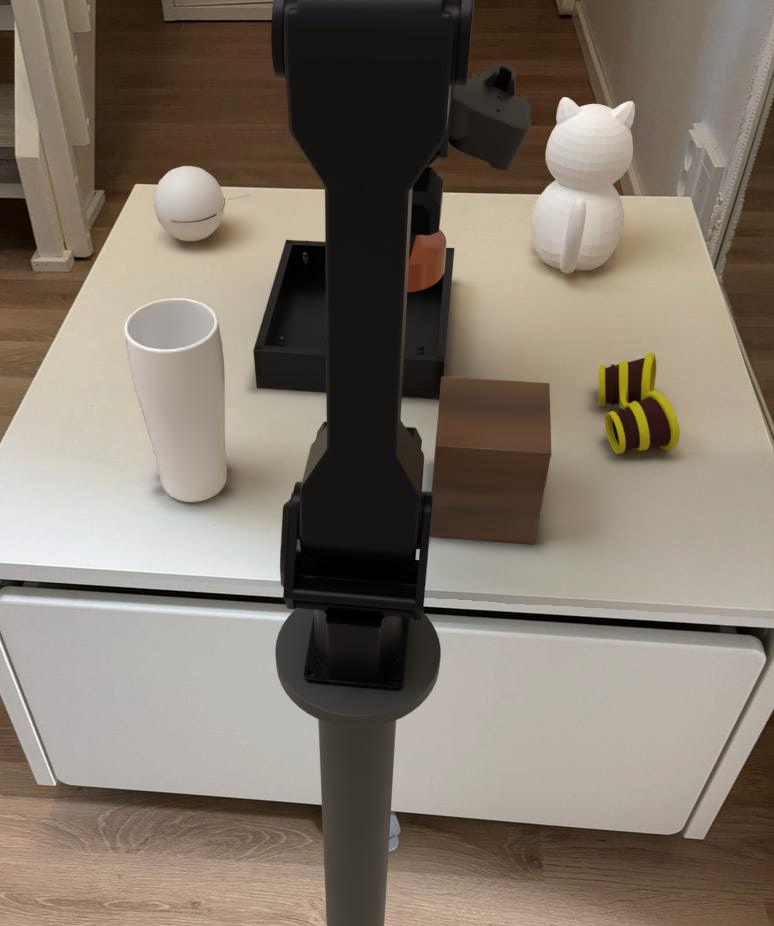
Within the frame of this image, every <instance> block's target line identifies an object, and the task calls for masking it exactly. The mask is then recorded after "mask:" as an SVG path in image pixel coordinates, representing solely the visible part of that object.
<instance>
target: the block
mask: <svg viewBox="0 0 774 926" xmlns="http://www.w3.org/2000/svg"><path fill="white" fill-rule="evenodd" d="M550 385H551V384H550V382H541V381H540V382H539V381H538V382H537V381H523V380H522V381H521V380H506V379H492V378H491V379H490V378H476V377H475V378H474V377H459V376H444V377H441V385H440V396H439V399H438V408H437V419H436V420H437V422H436V432H435V442H434V443H435V445H434V456H433V469H432V481H431V482H432V483H431V492H433V502H432V514H431V526H430V537H436V538H447V539H463V540H476V541H489V542H499V543H513V544H514V543H516V544H525V545H526V544H529V545H535V542H536V537H537V533H538V527H539V522H540V516H541V510H542V507H543V506H542V505H543V500H544V495H545V490H546V484H547V480H548V474H549V469H550V463H551V458H552V453H553V451H552V450H553V449H552V419H551V386H550Z"/></svg>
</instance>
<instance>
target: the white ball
mask: <svg viewBox="0 0 774 926" xmlns="http://www.w3.org/2000/svg"><path fill="white" fill-rule="evenodd" d="M250 196H251V194H246V195H242V196H237V197H232V198H228V199H227V201H230V200H236V199H240V198H245V197H250ZM225 206H226V198H225V197H224V194H223V190H222V188H221V185H220V184H219V182H218V181H217V180H216V178H215V177H214V176H213V175H212V174H211V173H209V172H208V171H206V170H205V169H203V168H201V167H198V166H192V165H182V166H179V167H175V168H172V169H171V170H169V171H167V173H165V174H164V175H163V176H162V178H161V179H159V181H158V184H157V186H156V189H155V192H154V194H153V208H154V212H155V215H156V218H157V222H158V223H159V225H161V227H162V229H164V230H165V232H166V233H167V234H169V235H170V236H172V237H174V238H175V239H177V240H180V241H184V242H197V241H201V240H205V239H206V238H208V237H209V236H211V235H213V233H214V232H215V231H216V230H217V229H218V228H219V226H220V225H221V222H222V221H223V218H224V214H225Z"/></svg>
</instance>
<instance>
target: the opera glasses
mask: <svg viewBox="0 0 774 926" xmlns="http://www.w3.org/2000/svg"><path fill="white" fill-rule="evenodd" d="M657 369H658V368H657V357H656V354H655V353H654V352H647V353H646V354H645V356H644V357H643V358H638V359H635V360H634V359H633V360H631V361H629V359H625V360H622V361H619V362H618V364H614V363H612V364H611V365H610V366H606V365H605V364H599V365H598V406H599V407H606V405H607V404H608V405H609V404H610V405H611V407H614V406H618V407H619V409H618V411H617V412H616V411H615V410H611V411H608V412H605V417H604V426H605V432H606V436H607V439H608V442H609V443H608V444H609V445H610V448H611V449H612V451H613V452H614V453H615V454H616V455H619V454H623V453H625V450H627V451H628V452H631V451H633V450H635V451H639V452H640V451H647V450H649V448H660V449H662V450H664V451H671V450H673V449H675V448H676V447H677V446H678V444H679V442H680V438H681V429H680V425H679V421H678V417H677V415H676V412H675V411H674V408H673V407H672V405H671V403H670V401H669V400H668V399H667V398H666V397H665V396H664V395H663V394H662V393H661V392H659V391H657V390H655V386H656V379H657Z"/></svg>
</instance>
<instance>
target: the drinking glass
mask: <svg viewBox="0 0 774 926" xmlns="http://www.w3.org/2000/svg"><path fill="white" fill-rule="evenodd" d="M123 333H124V334H123V335H124V341H125V342H124V343H125V349H126V356H127V361H128V367H129V372H130V375H131V380H132V384H133V387H134V392H135V394H136V398H137V401H138V405H139V408H140V411H141V414H142V418H143V421H144V423H145V427H146V431H147V435H148V438H149V442H150V445H151V448H152V451H153V455H154V459H155V462H156V465H157V469H158V475H159V480H160V484H161V486H162V489H163V490H164V491H165V493H166V494H167V495H168V496H169V497H171V498H173V499H175V500H177V501H181V502H185V503H197V502H198V503H199V502H202V501H207V500H209V499H211V498H213V497H215V496H217V495H218V494H219V493H220V492H221V491H222V490H223V489H224V487H225V486H226V483H227V479H228V467H227V458H226V457H227V456H226V455H227V454H226V374H225V357H224V348H223V341H222V336H221V335H222V334H221V329H220V321H219V318H218V315H217V314H216V312H215V311H214V309H212V308H211V307H210V306H209V305H207V304H205V303H203V302H201V301H198V300H196V299H191V298H182V297H171V298H162V299H158V300H155V301H151V302H149V303H146V304H143V305H142V306H140V307H138V308H137V309H135V310H134V311H133V312H132V313H131V314H130V315H129V316H128V317H127V319H126V320H125V323H124V326H123Z"/></svg>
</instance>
